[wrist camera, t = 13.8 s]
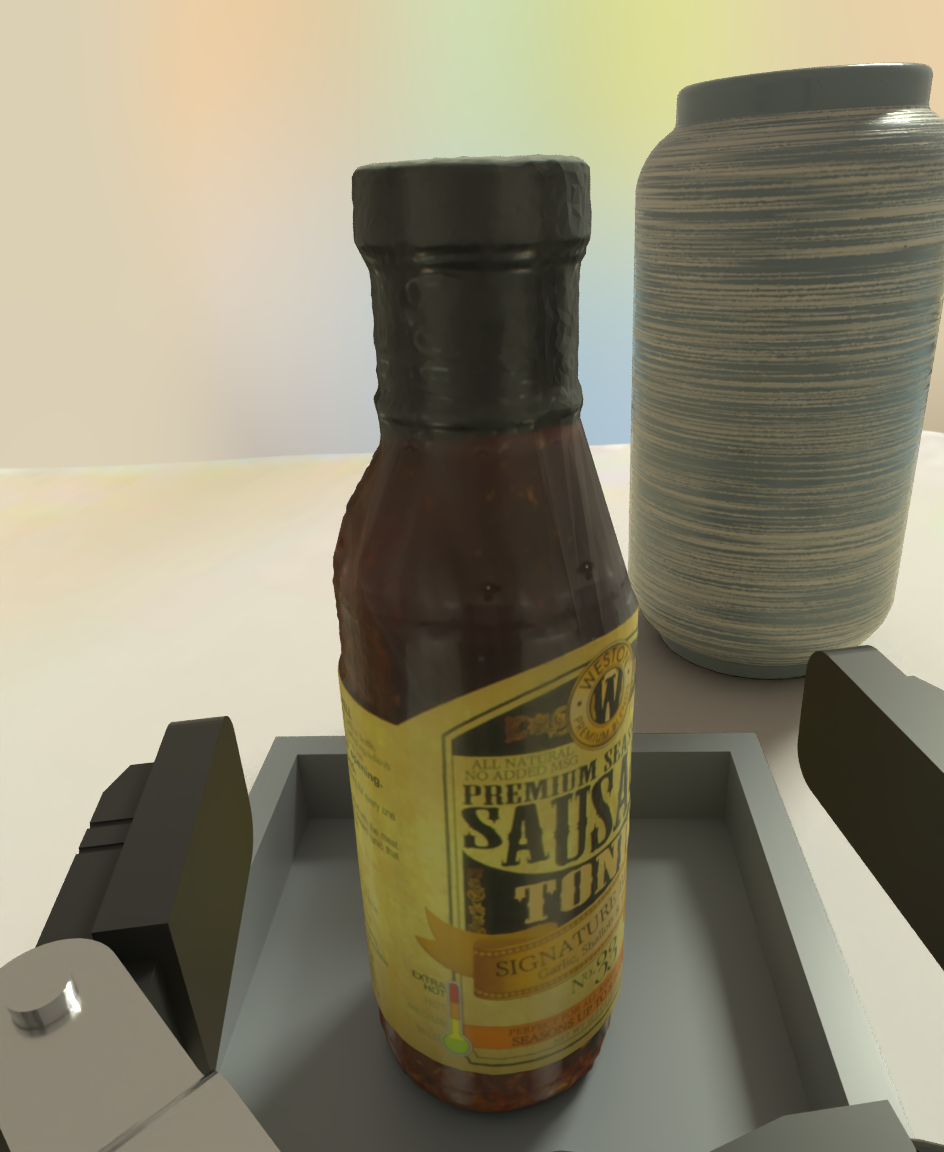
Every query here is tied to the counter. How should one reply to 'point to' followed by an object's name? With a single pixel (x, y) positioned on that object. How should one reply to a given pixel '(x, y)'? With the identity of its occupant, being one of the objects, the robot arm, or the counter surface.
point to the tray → (648, 985)
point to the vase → (782, 359)
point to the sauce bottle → (485, 637)
